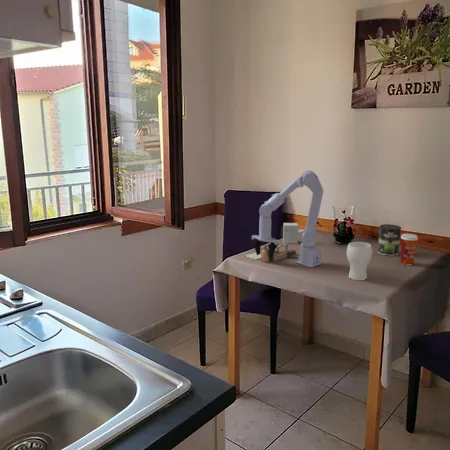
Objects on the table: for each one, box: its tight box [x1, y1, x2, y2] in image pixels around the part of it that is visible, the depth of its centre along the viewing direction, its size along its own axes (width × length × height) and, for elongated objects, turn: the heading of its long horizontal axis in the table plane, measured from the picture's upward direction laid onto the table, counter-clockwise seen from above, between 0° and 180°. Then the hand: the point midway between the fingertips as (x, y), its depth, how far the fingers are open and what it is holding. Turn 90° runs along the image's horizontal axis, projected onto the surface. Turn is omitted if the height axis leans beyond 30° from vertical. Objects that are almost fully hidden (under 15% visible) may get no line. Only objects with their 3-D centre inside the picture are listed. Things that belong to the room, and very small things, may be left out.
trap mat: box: [286, 255, 299, 260], centre depth 228 cm, size 4×4×1 cm
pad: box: [244, 252, 261, 261], centre depth 230 cm, size 8×8×1 cm
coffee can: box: [377, 223, 402, 257], centre depth 233 cm, size 10×10×14 cm
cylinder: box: [260, 248, 270, 264], centre depth 222 cm, size 4×4×6 cm
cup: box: [346, 241, 373, 281], centre depth 198 cm, size 11×11×15 cm
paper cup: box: [400, 233, 419, 265], centre depth 216 cm, size 8×8×14 cm
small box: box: [282, 222, 299, 245], centre depth 254 cm, size 8×6×10 cm
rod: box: [269, 249, 297, 261], centre depth 229 cm, size 2×18×2 cm, turn 121°
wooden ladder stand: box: [264, 241, 289, 262], centre depth 227 cm, size 6×10×7 cm, turn 131°
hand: (264, 256), depth 222 cm, fingers open, 7 cm apart
